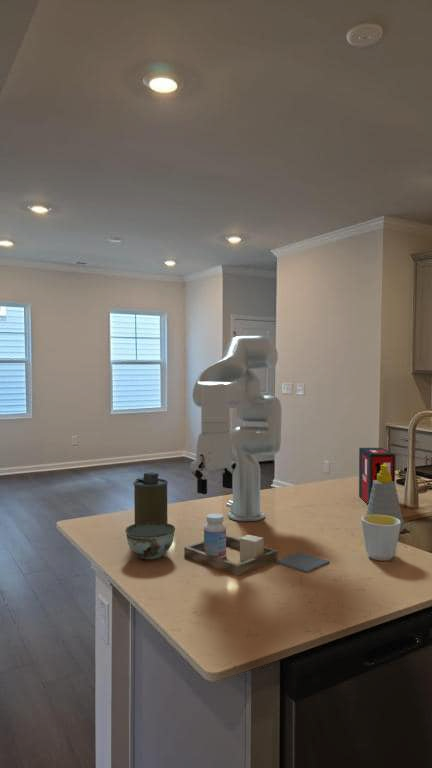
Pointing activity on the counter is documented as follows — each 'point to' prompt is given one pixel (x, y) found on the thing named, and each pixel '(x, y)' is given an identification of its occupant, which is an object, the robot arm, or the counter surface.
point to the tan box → (250, 547)
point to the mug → (380, 536)
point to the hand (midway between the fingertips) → (215, 490)
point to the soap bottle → (384, 497)
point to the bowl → (150, 539)
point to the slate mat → (302, 562)
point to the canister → (150, 499)
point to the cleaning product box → (373, 468)
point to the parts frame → (236, 569)
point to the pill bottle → (215, 536)
